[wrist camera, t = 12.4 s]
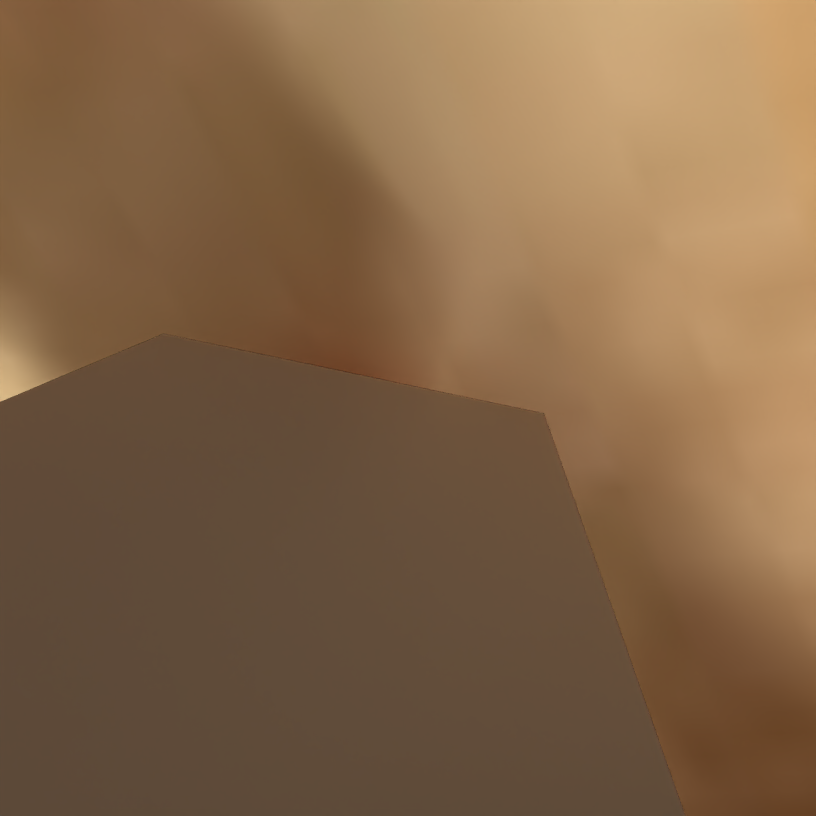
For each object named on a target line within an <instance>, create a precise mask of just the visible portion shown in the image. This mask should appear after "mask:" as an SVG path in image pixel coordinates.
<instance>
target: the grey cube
mask: <svg viewBox="0 0 816 816" xmlns="http://www.w3.org/2000/svg"><path fill="white" fill-rule="evenodd" d="M0 816H685V813H684V810H683V808H682V805H681V802H680V799H679V796H678V793H677V791H676V788H675V785H674V782H673V779H672V776H671V774H670V771H669V768H668V765H667V762H666V759H665V756H664V754H663V751H662V748H661V745H660V742H659V739H658V737H657V734H656V731H655V728H654V725H653V722H652V719H651V717H650V714H649V711H648V708H647V705H646V702H645V700H644V697H643V694H642V691H641V688H640V685H639V682H638V680H637V677H636V674H635V671H634V668H633V665H632V663H631V660H630V657H629V654H628V651H627V648H626V646H625V643H624V640H623V637H622V634H621V631H620V628H619V626H618V623H617V620H616V617H615V614H614V611H613V609H612V606H611V603H610V600H609V597H608V594H607V591H606V589H605V586H604V583H603V580H602V577H601V574H600V572H599V569H598V566H597V563H596V560H595V557H594V554H593V552H592V549H591V546H590V543H589V540H588V537H587V535H586V532H585V529H584V526H583V523H582V520H581V518H580V515H579V512H578V509H577V506H576V503H575V500H574V498H573V495H572V492H571V489H570V486H569V483H568V481H567V478H566V475H565V472H564V469H563V466H562V463H561V461H560V458H559V455H558V452H557V449H556V446H555V444H554V441H553V438H552V435H551V432H550V429H549V426H548V424H547V421H546V418H545V415H544V413H539V412H535V411H530V410H525V409H520V408H515V407H511V406H506V405H501V404H496V403H492V402H487V401H482V400H477V399H473V398H468V397H463V396H458V395H453V394H449V393H444V392H439V391H434V390H430V389H425V388H420V387H415V386H411V385H406V384H401V383H396V382H391V381H387V380H382V379H377V378H372V377H368V376H363V375H358V374H353V373H349V372H344V371H339V370H334V369H329V368H325V367H320V366H315V365H310V364H306V363H301V362H296V361H291V360H287V359H282V358H277V357H272V356H267V355H263V354H258V353H253V352H248V351H244V350H239V349H234V348H229V347H225V346H220V345H215V344H210V343H205V342H201V341H196V340H191V339H186V338H182V337H177V336H172V335H167V334H162V335H159V336H157V337H155V338H152V339H150V340H147V341H145V342H143V343H140V344H138V345H135V346H133V347H131V348H128V349H126V350H123V351H121V352H119V353H116V354H114V355H111V356H109V357H107V358H104V359H102V360H99V361H97V362H95V363H92V364H90V365H87V366H85V367H83V368H80V369H78V370H75V371H73V372H71V373H68V374H66V375H64V376H61V377H59V378H56V379H54V380H52V381H49V382H47V383H44V384H42V385H40V386H37V387H35V388H32V389H30V390H28V391H25V392H23V393H20V394H18V395H16V396H13V397H11V398H8V399H6V400H4V401H1V402H0Z"/></svg>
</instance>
